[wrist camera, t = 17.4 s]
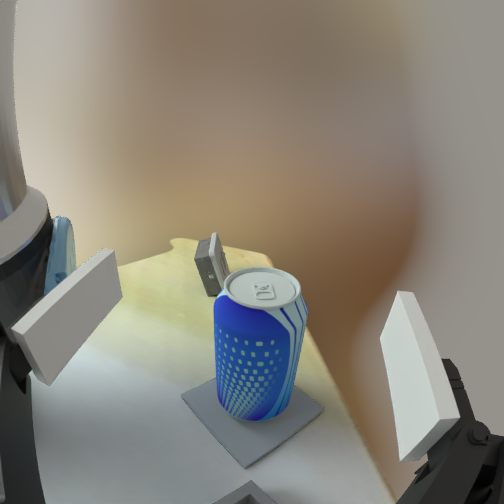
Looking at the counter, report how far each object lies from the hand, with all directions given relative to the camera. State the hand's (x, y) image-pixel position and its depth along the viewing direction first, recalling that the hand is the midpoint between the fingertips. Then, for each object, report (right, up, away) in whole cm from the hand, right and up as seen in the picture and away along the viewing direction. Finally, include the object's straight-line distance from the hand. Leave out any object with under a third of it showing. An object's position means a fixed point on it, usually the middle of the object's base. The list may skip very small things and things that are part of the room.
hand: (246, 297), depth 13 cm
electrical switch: (-7, -5, +43) cm, 44 cm away
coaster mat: (0, -16, +19) cm, 25 cm away
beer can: (0, -15, +19) cm, 25 cm away
